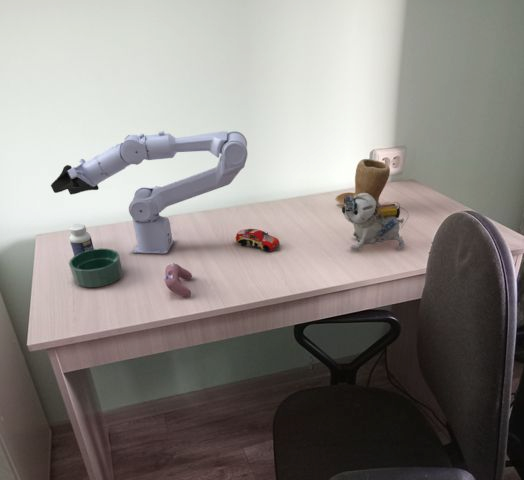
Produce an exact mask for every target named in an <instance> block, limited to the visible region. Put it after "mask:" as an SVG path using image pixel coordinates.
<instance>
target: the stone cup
mask: <svg viewBox="0 0 524 480" xmlns="http://www.w3.org/2000/svg"><path fill="white" fill-rule="evenodd" d="M356 165H357V166H356V168H355V176H354V188H355V189H354V192H343V193H340V194H338V195H336V196H335V201H336V202H338V203H339V204H341V205H342V206H343V207H345V208H346V205H345V204H344V198H345V197H350V195H351V197H352V198H354V196H355V195H357V194H360V193H367V194H369V195H371V196H372V197H373V198H374V199H375V201H376V202H377V205H378V206H379V205H381V203H379V200H380V196H381V194H382V192H383V191H384V189H385V187H386V185H387V183H388V181H389V178H390V175H391V174H390V173H391V168H390V166H389V165H388V164H387V163H385V162H382V161H380V160H375V159H371V158H363V159H361V160H360V161H358V163H357V164H356ZM377 205H376V206H377ZM374 213H375V211H374Z"/></svg>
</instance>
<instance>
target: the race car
mask: <svg viewBox="0 0 524 480" xmlns="http://www.w3.org/2000/svg"><path fill="white" fill-rule="evenodd" d="M235 242H236V243H237V244H240V246H241V247H245V246H246V247H250V248H255V249H259V250H263V251H264V252H266V253H268V252H270V251H275V250H277V249H279V248H280V246H281V244H280V243H281V242H280V240H279V239H278V238H277V237H276V236H272V235H270V234H269V232H266V231H264V230H261V229H258V228H247V229H246V228H245V229H240V230H239V231H238V232H236V235H235Z"/></svg>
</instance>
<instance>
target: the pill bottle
mask: <svg viewBox="0 0 524 480" xmlns="http://www.w3.org/2000/svg"><path fill="white" fill-rule="evenodd" d="M69 232H70V235H69V242H70V246H71V250H72V252H73V257H74V256H76V255H77V254H79V253H82V252H84V251H88V250H92V249H95V247H94V243H93V240H92V235H91V234H90V232H88V231H87V227H86V225H85V224H82V223H76V224H72V225H70V226H69Z"/></svg>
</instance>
